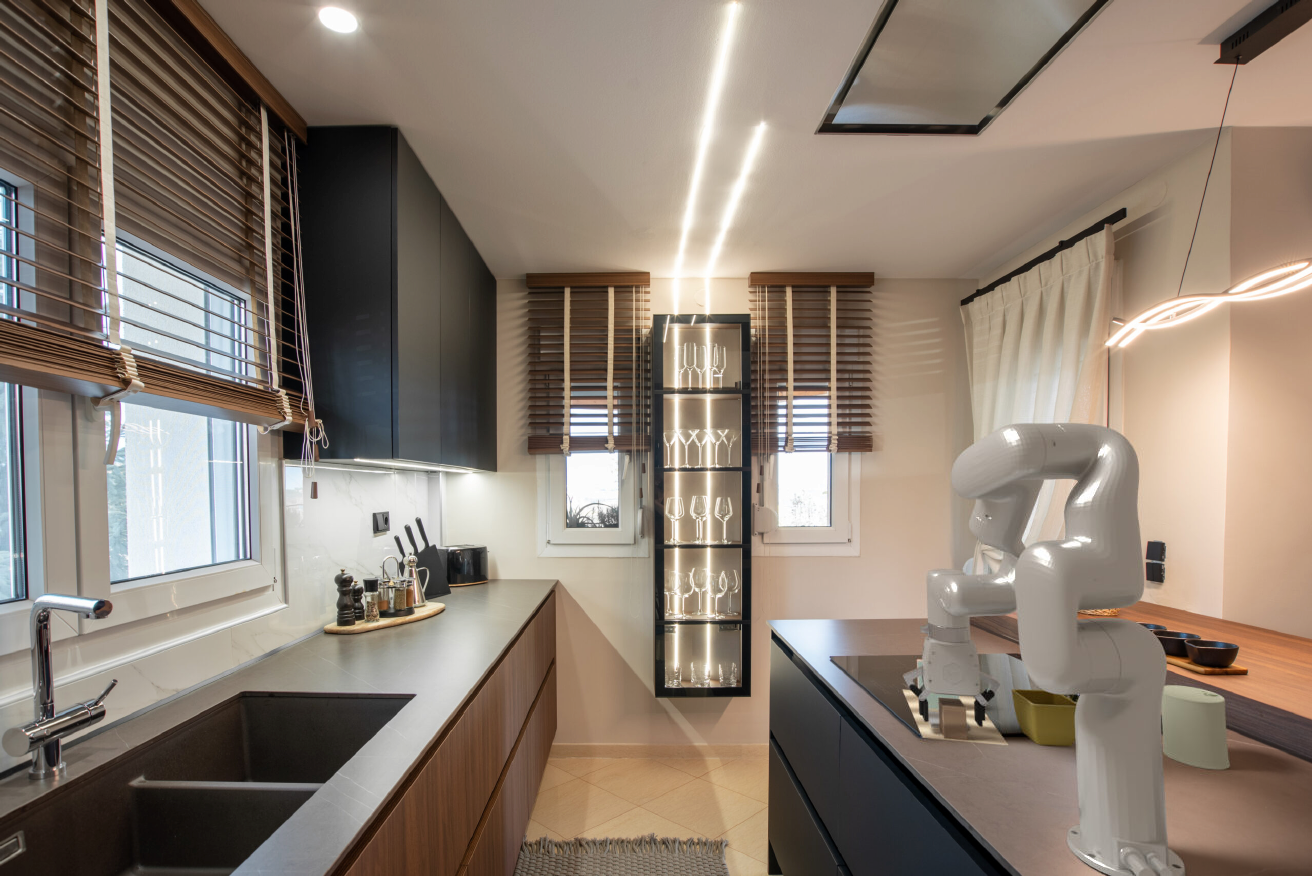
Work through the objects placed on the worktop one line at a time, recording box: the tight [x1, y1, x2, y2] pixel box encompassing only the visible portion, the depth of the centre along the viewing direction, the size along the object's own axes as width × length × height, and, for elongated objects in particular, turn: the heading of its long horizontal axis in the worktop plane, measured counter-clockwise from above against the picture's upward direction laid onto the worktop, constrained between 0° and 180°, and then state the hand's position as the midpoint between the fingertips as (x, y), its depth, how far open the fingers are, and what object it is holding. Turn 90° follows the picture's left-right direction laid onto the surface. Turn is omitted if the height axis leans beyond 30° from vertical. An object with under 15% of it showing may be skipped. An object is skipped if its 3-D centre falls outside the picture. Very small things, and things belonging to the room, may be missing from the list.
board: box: [901, 688, 1009, 746], centre depth 130 cm, size 28×15×1 cm, turn 166°
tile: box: [916, 658, 959, 709], centre depth 134 cm, size 2×8×10 cm, turn 76°
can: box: [1161, 684, 1231, 771], centre depth 112 cm, size 9×9×12 cm
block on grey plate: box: [928, 698, 969, 740], centre depth 124 cm, size 12×7×6 cm, turn 166°
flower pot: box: [1011, 688, 1077, 747], centre depth 118 cm, size 9×9×9 cm
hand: (951, 721), depth 120 cm, fingers open, 9 cm apart
